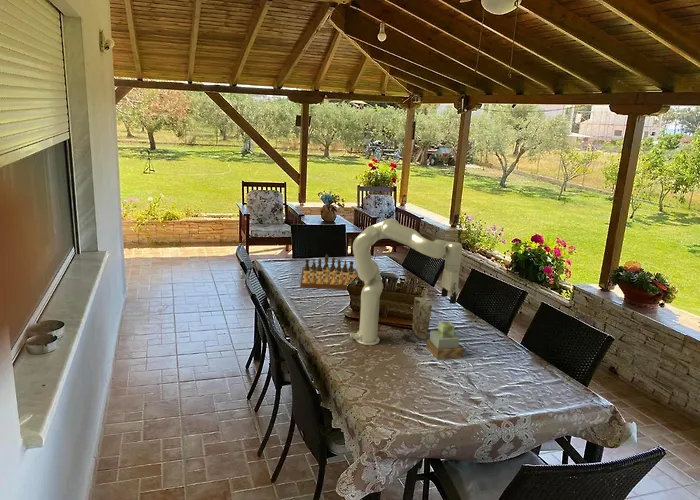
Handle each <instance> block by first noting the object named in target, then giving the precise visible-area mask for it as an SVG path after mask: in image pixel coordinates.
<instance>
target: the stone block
mask: <svg viewBox="0 0 700 500" xmlns="http://www.w3.org/2000/svg"><path fill="white" fill-rule="evenodd" d="M432 309H433V304H432V303H430V301H428V299H426V298H425V297H416V296H415V297H414V300H413V311H412V325H411V326H412V330H411V331H412V333H413V334H414V335H415V336H416V337H417V338H418V339H421V340H427V339H428V334H429V333H428V332H429V329H430V321H431V314H432Z"/></svg>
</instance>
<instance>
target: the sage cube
mask: <svg viewBox="0 0 700 500" xmlns="http://www.w3.org/2000/svg"><path fill="white" fill-rule="evenodd" d="M437 331H438V334H439V335H440V336H441V337H442V338H445V337H453V336H454V334H455V325H454V324H453V323H452V322H451V321H439V322H438V326H437Z"/></svg>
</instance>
